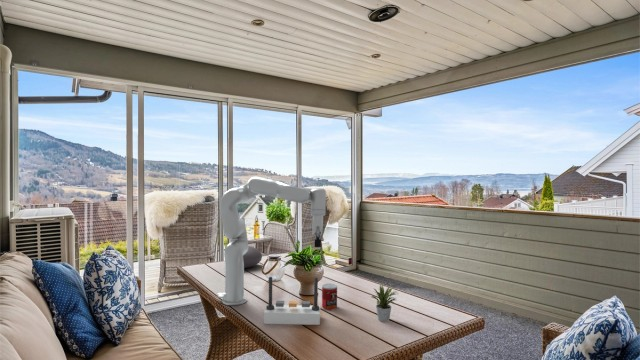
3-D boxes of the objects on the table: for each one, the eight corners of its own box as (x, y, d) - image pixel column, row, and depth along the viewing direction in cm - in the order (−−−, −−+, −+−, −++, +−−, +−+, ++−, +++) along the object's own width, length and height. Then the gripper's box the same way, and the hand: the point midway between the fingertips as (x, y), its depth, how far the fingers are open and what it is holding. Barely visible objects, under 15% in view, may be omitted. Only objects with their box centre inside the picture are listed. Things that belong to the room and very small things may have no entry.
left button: (275, 306, 167) (275, 303, 167) (276, 303, 171) (276, 300, 171) (283, 306, 167) (283, 303, 167) (284, 304, 171) (284, 300, 171)
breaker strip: (264, 323, 164) (264, 312, 164) (267, 315, 174) (267, 304, 174) (319, 324, 164) (319, 313, 164) (320, 316, 174) (320, 305, 174)
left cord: (265, 310, 168) (266, 277, 167) (267, 307, 171) (267, 275, 171) (273, 310, 167) (273, 277, 167) (274, 307, 171) (275, 275, 171)
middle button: (288, 306, 167) (288, 303, 167) (289, 304, 171) (289, 300, 171) (296, 307, 167) (296, 303, 167) (297, 304, 171) (297, 300, 171)
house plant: (392, 329, 160) (392, 292, 159) (363, 322, 167) (363, 286, 167) (403, 318, 172) (403, 284, 172) (375, 312, 179) (376, 279, 179)
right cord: (311, 310, 167) (311, 278, 167) (311, 308, 171) (312, 276, 171) (319, 310, 167) (319, 278, 167) (319, 308, 171) (320, 276, 170)
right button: (301, 307, 167) (301, 303, 167) (302, 304, 171) (302, 301, 171) (309, 307, 167) (309, 303, 167) (310, 304, 171) (310, 301, 171)
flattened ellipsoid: (259, 271, 253) (259, 250, 253) (223, 271, 252) (223, 249, 252) (264, 263, 278) (264, 243, 277) (231, 262, 277) (231, 243, 277)
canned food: (326, 311, 181) (326, 288, 180) (319, 305, 188) (319, 284, 187) (339, 308, 184) (340, 286, 184) (332, 303, 191) (332, 282, 191)
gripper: (311, 210, 198) (311, 242, 198) (310, 214, 181) (310, 248, 181) (325, 210, 198) (324, 242, 198) (325, 214, 181) (325, 248, 181)
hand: (317, 245), depth 190 cm, fingers open, 9 cm apart
